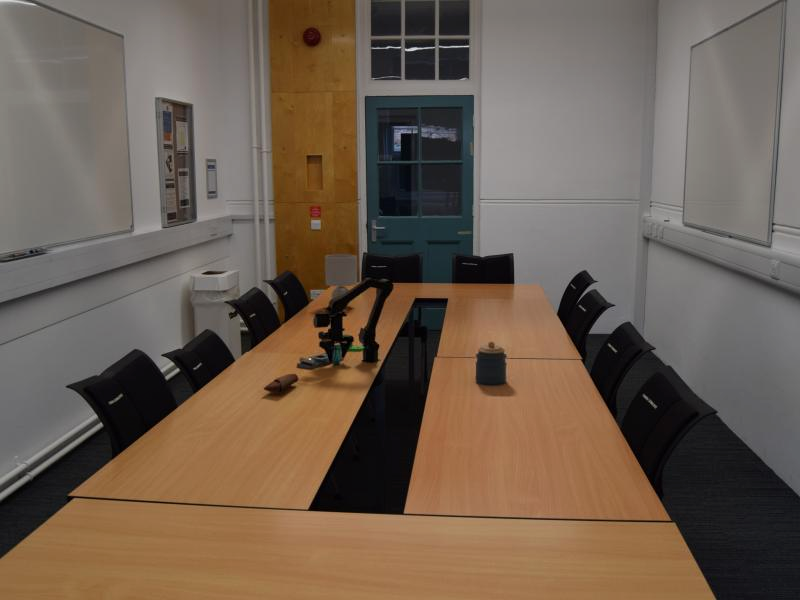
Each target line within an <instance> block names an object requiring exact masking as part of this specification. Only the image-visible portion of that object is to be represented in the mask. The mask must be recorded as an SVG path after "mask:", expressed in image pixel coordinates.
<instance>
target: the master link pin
mask: <svg viewBox="0 0 800 600" xmlns="http://www.w3.org/2000/svg"><path fill="white" fill-rule="evenodd" d="M333 348H335V349H334V362H333V366H340V365H341V360H340V348H341V345H340V344H334V347H333Z"/></svg>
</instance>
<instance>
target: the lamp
mask: <svg viewBox="0 0 800 600" xmlns="http://www.w3.org/2000/svg"><path fill="white" fill-rule="evenodd" d="M357 262H358V256H357V255H356V254H329V255H325V256H324V265H325V267H324V268H325V269H324V270H325V271H324V272H325V285H326V286H330V287H336V288H334V289H333V291H332V293H331V297H330V298H331V299H333V298H335V297H337V296H340V295H343V294H345V293H346V292H348V291H349V290H350V289H348V288H347V287H351V286H356V285H358V274H357V273H358V263H357ZM331 299H330V300H331ZM350 303H351V301H350V302H349V304H350Z"/></svg>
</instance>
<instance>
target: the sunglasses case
mask: <svg viewBox="0 0 800 600" xmlns="http://www.w3.org/2000/svg"><path fill="white" fill-rule="evenodd" d="M298 381H299V377H298V375H297V374H296V373H290V374H285V375H282V376H279V377H277V378H275V379H273V381H271V382H269V383H268V384H267V385H266V386H264V388H263V390H264V391H266V392H270V393H273V394H278V395H279V394H281V393H283V392H284V391H285V390H286V389H288V388H289V387H291V386H292V385H294V384H295V383H297V382H298Z"/></svg>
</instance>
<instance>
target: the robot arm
mask: <svg viewBox="0 0 800 600" xmlns="http://www.w3.org/2000/svg"><path fill="white" fill-rule="evenodd" d="M370 288H373V289H375V294H376V295H375V296H376V297H375V299H374V302H373V305H372V308H371V312H370V314H369V317H368V320H367V322H366V325H365V326H364V327H360V329H359V333H358V334H357V336H358V341H359V343H360V344H362V345H361V346H362V347H365V348H363V350H362V360H361V362H364V363H371V364H374V363H376V362H379V361H381V359H379V349H380V344H379V343H378V342H377V341H376V337H377V329H376V328H377V326H378V323H379V321H380V317H381V314H382V313H383V312H382V311H383V310H384V309H383V308H384V306H385V303H386V301H387V299H388V298H389V297H390V295H391V293H392V292H393V290H394V283H393V282H392V280H388V279H385V278H381V279H373V278H370V277H366V278H364V279H363V280H362V281H360V282H359V283H357V284H356V285H354V286H353V287H352V288H351V289H348V290H349V291H348V292H346V293H345V294H343V295H340V296H337V297H335V298H333V299H330V300H329V302H328V306H327V307H326V308H325V310H324V312H315V313H314V316H313V319H312V322H313V327H314V328H315V329H317V328H318V329H320V328H328V327H329V326H330V327H329V328H328V329H327V332H326V331H325V332H324V331H318V335H317V336H318V339H319V340H320V341H318V347H319V348H321V349H323V350H324V352H325V351H326V352H325V353H326V354H327V356H328V359H329V361H330V362H332V359H333V354H334V349H335V348H333V347H334V345H341V353H342V358H344V359H345V357H346V355H347V353H348V352H349V351H348V349H349V347H350V345H351V344H352V343H351V342H355V338H354V336H353V335H351V334H349V335H345V334H344V331H345V330H346V329H345V327H344V325H343V324H344V317H348V314H346V313H345V311H344V310H345V309H347V308H346V307H348V306H349V304H350V303H351V301H353V300H354V299H357V297H359V296H360V295H362V294H363V293H364V292H365V291H367V290H368V289H370ZM349 302H350V303H349Z"/></svg>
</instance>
